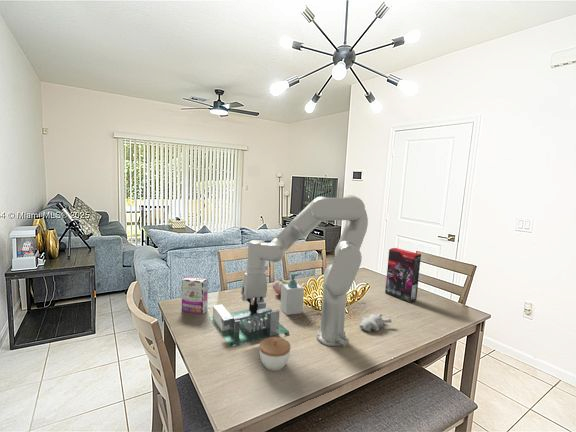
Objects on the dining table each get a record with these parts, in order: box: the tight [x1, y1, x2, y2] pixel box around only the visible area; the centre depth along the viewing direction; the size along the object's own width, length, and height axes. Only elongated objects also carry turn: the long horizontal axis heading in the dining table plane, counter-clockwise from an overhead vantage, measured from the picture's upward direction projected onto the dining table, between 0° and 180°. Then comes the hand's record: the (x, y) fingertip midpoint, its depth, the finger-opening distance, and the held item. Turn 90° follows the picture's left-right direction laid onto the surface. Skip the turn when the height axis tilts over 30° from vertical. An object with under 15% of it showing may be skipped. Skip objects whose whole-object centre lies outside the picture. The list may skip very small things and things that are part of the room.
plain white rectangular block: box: [212, 304, 231, 331], centre depth 132 cm, size 12×4×6 cm, turn 31°
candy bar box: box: [181, 276, 209, 315], centre depth 143 cm, size 11×5×16 cm, turn 76°
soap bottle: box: [279, 272, 305, 316], centre depth 150 cm, size 9×9×19 cm
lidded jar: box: [259, 336, 291, 372], centre depth 106 cm, size 11×11×9 cm
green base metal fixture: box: [209, 298, 290, 348], centre depth 132 cm, size 27×26×11 cm
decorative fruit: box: [272, 277, 289, 296], centre depth 169 cm, size 9×8×10 cm
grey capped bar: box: [221, 306, 273, 326], centre depth 126 cm, size 4×22×2 cm, turn 121°
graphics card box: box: [384, 247, 422, 303], centre depth 174 cm, size 17×7×27 cm, turn 37°
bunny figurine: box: [359, 312, 392, 333], centre depth 138 cm, size 10×5×15 cm
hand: (253, 312), depth 128 cm, fingers closed
